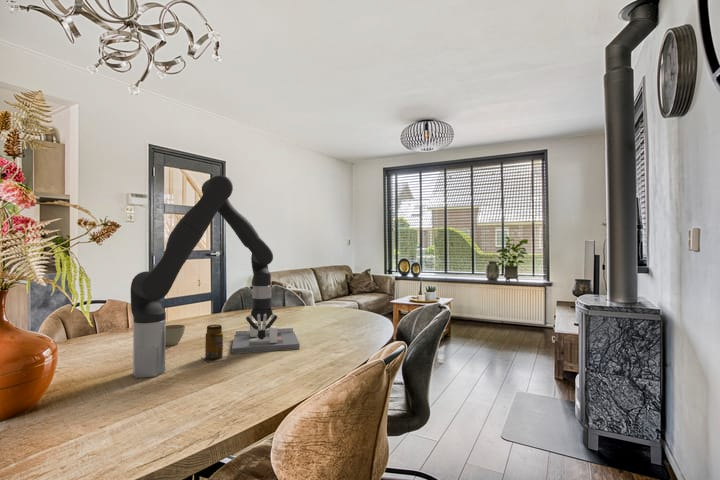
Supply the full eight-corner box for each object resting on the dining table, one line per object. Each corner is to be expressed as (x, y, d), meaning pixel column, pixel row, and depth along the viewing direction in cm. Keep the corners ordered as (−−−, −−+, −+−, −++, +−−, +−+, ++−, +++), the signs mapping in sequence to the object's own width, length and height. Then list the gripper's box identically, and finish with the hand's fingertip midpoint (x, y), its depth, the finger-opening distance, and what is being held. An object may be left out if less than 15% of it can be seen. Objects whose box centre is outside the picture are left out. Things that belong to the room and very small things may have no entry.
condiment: (220, 353, 144) (220, 322, 144) (228, 359, 138) (228, 326, 138) (200, 357, 140) (200, 325, 140) (207, 363, 133) (208, 329, 133)
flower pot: (177, 347, 152) (177, 329, 152) (153, 347, 152) (153, 329, 152) (189, 340, 162) (189, 324, 162) (166, 340, 162) (166, 324, 162)
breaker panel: (299, 348, 151) (299, 338, 151) (231, 353, 144) (232, 343, 144) (293, 335, 173) (293, 326, 173) (234, 339, 165) (234, 330, 165)
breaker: (256, 336, 161) (257, 322, 161) (249, 337, 160) (249, 323, 160) (256, 334, 165) (256, 320, 165) (249, 334, 164) (249, 321, 164)
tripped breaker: (277, 342, 152) (277, 327, 152) (269, 343, 151) (269, 328, 151) (276, 340, 156) (276, 325, 156) (269, 340, 155) (269, 326, 155)
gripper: (244, 298, 147) (244, 342, 147) (279, 297, 151) (278, 340, 151) (245, 295, 154) (244, 337, 154) (277, 294, 158) (277, 335, 158)
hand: (261, 338), depth 152 cm, fingers closed
